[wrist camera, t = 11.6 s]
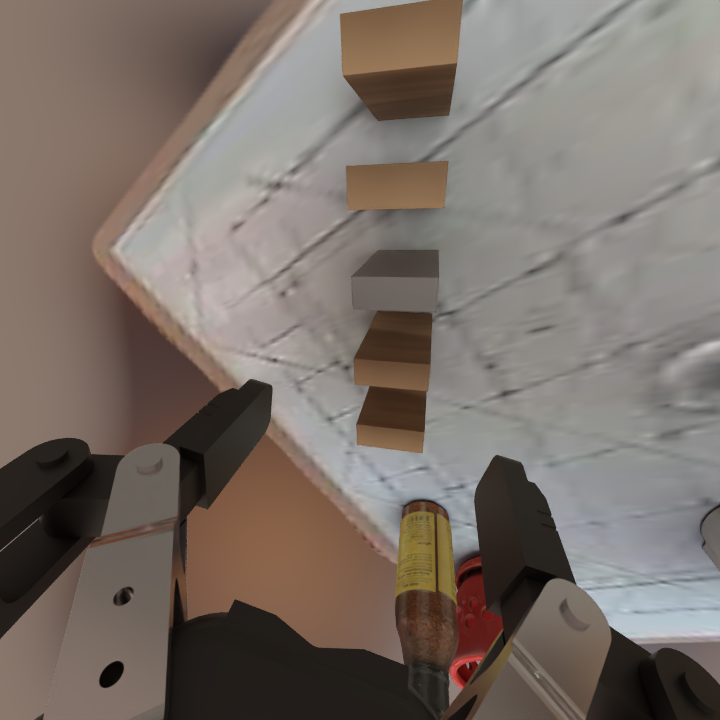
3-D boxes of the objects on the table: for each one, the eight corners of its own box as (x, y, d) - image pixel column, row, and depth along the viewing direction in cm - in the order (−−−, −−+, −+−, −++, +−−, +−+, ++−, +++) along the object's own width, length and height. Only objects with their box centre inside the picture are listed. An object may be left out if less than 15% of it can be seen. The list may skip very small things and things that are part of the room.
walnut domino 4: (426, 383, 32) (422, 453, 23) (378, 379, 33) (357, 444, 24) (427, 366, 31) (424, 432, 22) (378, 362, 32) (356, 424, 23)
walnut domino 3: (430, 333, 29) (428, 391, 21) (378, 330, 30) (354, 384, 22) (432, 313, 29) (430, 364, 20) (378, 311, 30) (353, 358, 21)
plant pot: (502, 531, 39) (525, 651, 29) (570, 586, 41) (614, 717, 31) (427, 563, 46) (424, 671, 35) (489, 610, 48) (503, 725, 37)
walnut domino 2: (441, 203, 24) (444, 207, 16) (378, 204, 25) (347, 209, 17) (444, 173, 23) (448, 161, 15) (378, 176, 24) (346, 166, 16)
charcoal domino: (378, 250, 27) (351, 276, 18) (438, 250, 26) (439, 277, 17) (378, 273, 28) (352, 309, 19) (436, 274, 27) (436, 312, 18)
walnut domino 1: (448, 115, 22) (457, 62, 13) (378, 120, 23) (342, 75, 14) (452, 77, 21) (462, -5, 12) (378, 85, 22) (340, 14, 13)
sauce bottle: (395, 518, 43) (366, 736, 25) (413, 491, 39) (395, 719, 22) (439, 537, 42) (441, 770, 25) (461, 511, 39) (481, 757, 22)
